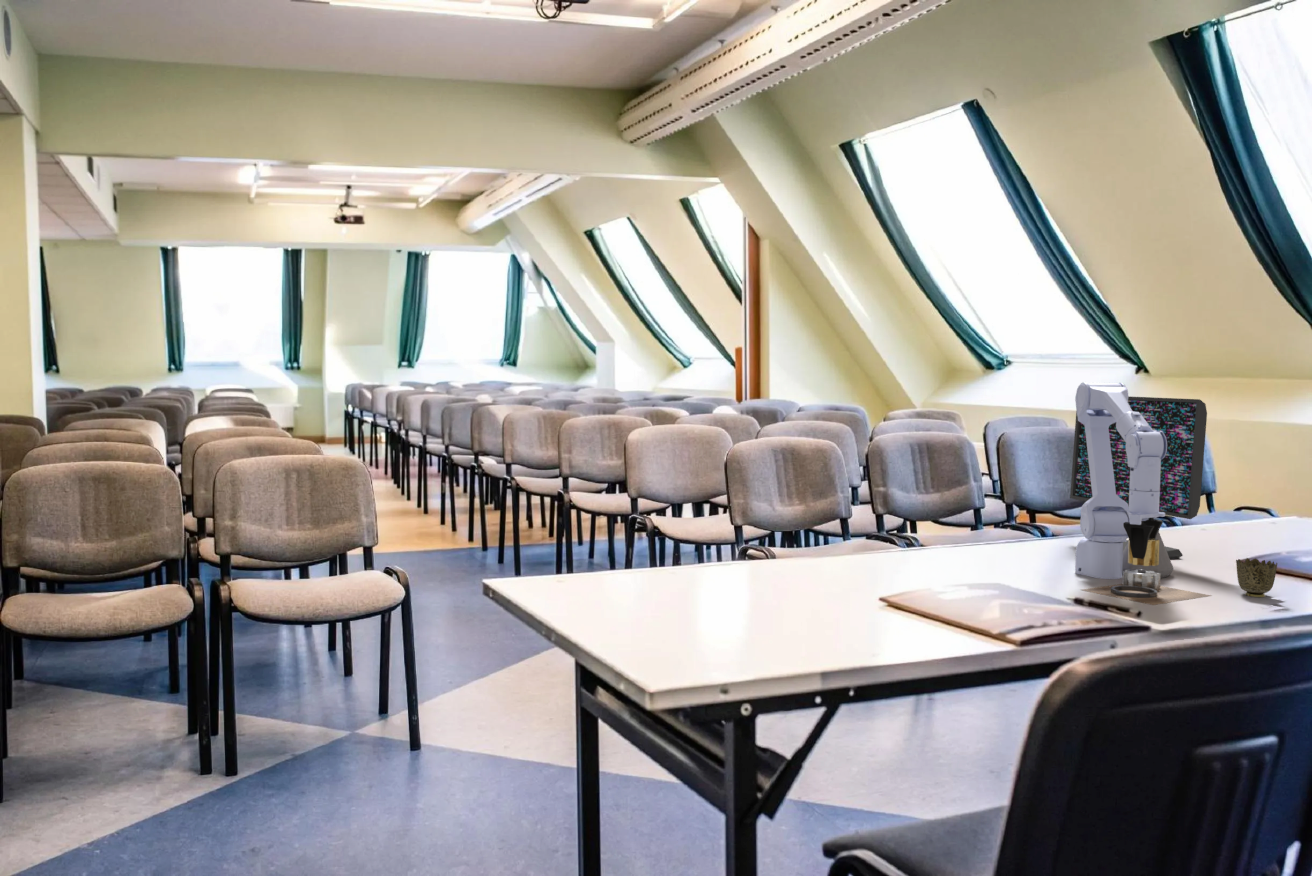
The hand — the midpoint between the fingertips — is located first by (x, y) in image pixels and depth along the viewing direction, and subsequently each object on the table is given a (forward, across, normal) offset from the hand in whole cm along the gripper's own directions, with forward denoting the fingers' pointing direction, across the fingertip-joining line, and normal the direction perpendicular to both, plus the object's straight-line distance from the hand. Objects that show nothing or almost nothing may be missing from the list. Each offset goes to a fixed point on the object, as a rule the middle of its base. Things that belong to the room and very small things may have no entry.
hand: (1142, 556), depth 232 cm
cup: (+9, +12, -19) cm, 24 cm away
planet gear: (+2, 0, 0) cm, 2 cm away
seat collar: (+8, -2, +1) cm, 8 cm away
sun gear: (+7, +7, +1) cm, 10 cm away
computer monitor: (+8, +57, +15) cm, 59 cm away
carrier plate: (+8, 0, -1) cm, 9 cm away
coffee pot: (+9, +25, +9) cm, 28 cm away
